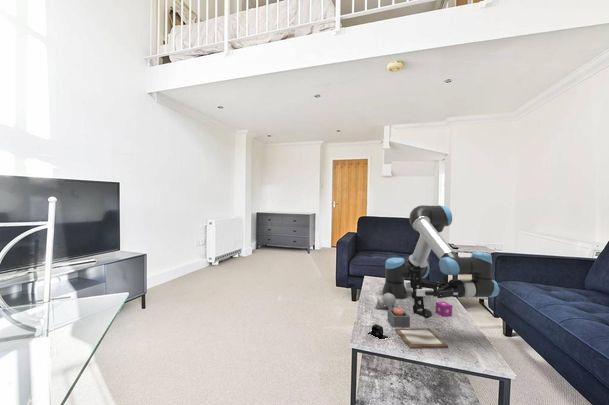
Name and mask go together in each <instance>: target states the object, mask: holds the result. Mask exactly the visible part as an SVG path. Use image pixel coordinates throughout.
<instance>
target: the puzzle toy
mask: <svg viewBox="0 0 609 405" xmlns="http://www.w3.org/2000/svg"><path fill="white" fill-rule="evenodd" d="M435 313H436V314H437V315H439V316H441V317H442V318H443V317H453V305H452V304H450V303H449V302H446V301H436V302H435Z"/></svg>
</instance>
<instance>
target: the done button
mask: <svg viewBox="0 0 609 405" xmlns="http://www.w3.org/2000/svg"><path fill="white" fill-rule="evenodd" d="M392 310H393V314H394V315H395V316H404V311H405V310H404V308H403V307H399V306H398V307H393V309H392Z"/></svg>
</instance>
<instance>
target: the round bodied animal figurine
mask: <svg viewBox="0 0 609 405" xmlns="http://www.w3.org/2000/svg"><path fill="white" fill-rule="evenodd" d="M374 305H375V308H377V309H382V307H384V306H386V308H387V311H388V310H393V308H394V307H399V305H398V303H397V302H396V299H395V296H394V295H393V294H391V293H386V294H384V295H383V294H382V298H378V297H377V301H376V303H374Z"/></svg>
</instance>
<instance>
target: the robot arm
mask: <svg viewBox="0 0 609 405" xmlns="http://www.w3.org/2000/svg"><path fill="white" fill-rule="evenodd" d="M408 220H409V224H410V226H411V227H412V228H413V230H414V231H415V232H418V233H419V234H420V235H419V238H418V241H417V242H416V244H415V245H416V246H415V248H414V251H413V253H412V254H411V255H409V257H408V258H407V259H405V258H404V257H390V258H387V259H386V260H385V266H384V268H385V273H384V274H385V277H384V280H385V281H384V283H383V284H384V285H383V288H382V292H381V294H382V296H383V295H384V294H386V293H391V294H393V295H394V296H395V299H398V300H399V299H406V298H407V297H408V291H407V289H412V288H411V284H410V281H405V280H406V279H409V280H410V278H411V274H410V273H409V271H410V268H411V267H415V266H420V268H421V281H422V289H417V292H416V296H423V297H433V298H437V299H446V298H466V299H468V298H493V297H494V298H495V297H496V296H498V295H499V293H500V287H499V284H498V282H497V281H496V280H494V279H493V258H492V254H491V253H488V252H484V251H483V252H482V251H473V252H472V253H471V255H470V256H459V255H458V254H457V252H455V250H454V249H453V248H452V247H451V245H450V244H449V243H448V242H447V241H446V240H445V238H444V237H443V236H442V235H441V233H442V232H443V231H444V228H445V227H449V226H451V225H452V223H453V214H452V210H451V209H450V208H449V207H447V206H446V205H440V204H439V205H418V206H416V207H414V208H413V209H411V212H410V213H409V218H408ZM431 251H432V252H433V254H435V255H436V257H437V258H438V259H439V260H438V261H439V262H438V267H439V270H440V272H441V273H442V274H443V275H445V276H446V275H447V276H460V275H461V276H463V275H464V276H465V275H466V276H468V275H470V276H471V279H469V278H467V279H465V278H463V279H461V278H460V279H449V280H448V282H447V283H446V282H442V281H440V280H424V279H425V278H426V277H428V276H429V273H430V265H429V262H428V258H429V256H430V253H431ZM417 271H418V270H417ZM414 275H416V274H414ZM422 279H423V280H422ZM416 287H419V285H417V286H416Z"/></svg>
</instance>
